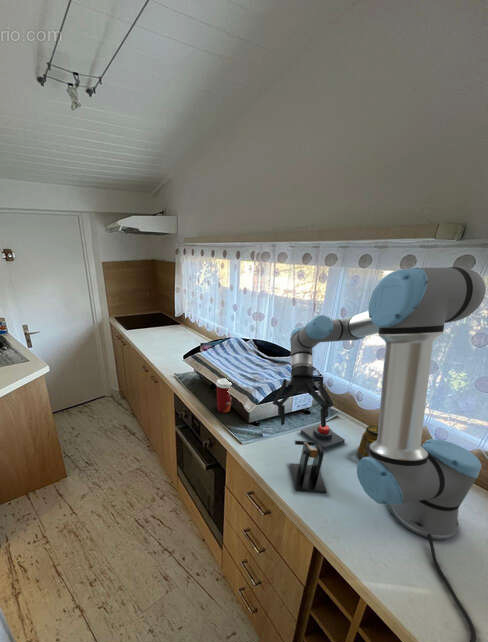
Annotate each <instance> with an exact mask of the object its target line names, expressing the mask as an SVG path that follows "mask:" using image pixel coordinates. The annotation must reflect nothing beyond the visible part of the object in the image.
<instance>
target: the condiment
mask: <svg viewBox="0 0 488 642" xmlns="http://www.w3.org/2000/svg"><path fill="white" fill-rule="evenodd" d="M378 427H379V426H378V425H377V426H376V425H368V426H367V427H366V428H365V431H364V432H363V433H362V436H361V439H360V442H359V446H358V448H357V450H356V451H355V454H356V455H357V457H358V459H359V461H360V460H361V459H362V458H364V457H369V449H370V444H371V443H373V442H374V441H376V440H377V438H378Z"/></svg>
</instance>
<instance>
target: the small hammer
mask: <svg viewBox="0 0 488 642" xmlns="http://www.w3.org/2000/svg"><path fill="white" fill-rule="evenodd" d="M304 443H307V445H308V448H309V451H310V454H309V459H310V458H312V459H314V458H317V456H318V450H317V449H316V447H314V446H315V443H314V441H310V440H296V439H295V440H294V445H296V446H303V444H304Z"/></svg>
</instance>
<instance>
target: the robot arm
mask: <svg viewBox="0 0 488 642" xmlns="http://www.w3.org/2000/svg"><path fill="white" fill-rule="evenodd" d="M486 289H487V287H486V283H485V280H484V279H483V277H482V276H481V275H480V274H479V273H478V272H477V271H475V270H473V269H471V268H469V267H463V266H449V267H447V266H445V267H413V268H412V267H410V268H405V269H398V270H394V271H391V272H389V273H387V274H386V275H385V276H384V277H383V278H381V279H380V281H379V283H377V284H376V285H375V287H374V288H373V290H372V292H371V294H370V297H369V300H368V303H367V304H368V305H367V311H363V312H362V313H359V314H356V315H353V316H351V317H346V318H334V319H332V318H331V317H329V316H327V315H325V314H317V315H315V316H313V318H311V319H310V320H309V321H307V323H306V324H305V325H304V326H298V327H296V328H293V329H292V330H291V332H290V340H289V342H290V380H288V379H287V378H283V380H282V382H281V387H280V389H279V390H278V392H277V394H276V396H275V398H274V400H273V402H272V405H274V406H276V407H277V415H278V416H280V425H281V426H284V425H285V424H286V417H285V416H286V415H285V412H286V411H285V410H286V407H285V406H286V405H285V403H286V402H287V400H289V398H290V397H291V396H292V395H293V394H294V393H296V394H309V396H311V397H312V398H313V399H314V400H315V401H316V403H317V404H318V405H319V406H320V407H321V408H320V424H321V427H325V426H326V425H327V421H326V420H327V418H328V417H329V409H330V408H332V407H333V406H334V405H335V404H334V402H333V400H332V399H331V397H330V395H329V393H328V391H327V389H326V388H325V387H324V381H323V380H319V381H315V380H314V368H313V367H314V360H313V348H314V347H316V346H317V345H319V344H320V343H331V342H342V341H345V342H346V341H359V340H363V339H365V338H366V337H368V336H373V335H377V334H378V337H380V338H381V339H382V340H383V341H384V342H385V346H384V347H385V348H384V355H383V357H384V358H383V369H382V381H381V393H380V404H379V416H378V426H377V427H378V438H377V440H376V441H374V442H373V443H371V444H370V449H369V457H364V458H362V459H361V460H360V459H359V460H358V462H357V465H356V475H357V478H358V482H359V484H360V486H361V487H362V489H363V491H364V492H365V494H367V496H368V497H369V498H370V499H372V501H374V502H375V503H378V504H379V505H383V506H388V507H389V511H390V513H391V515H392V516H393V518H394V519H395V520H396V521H397V522H398V523H399V524H400V525H402V526H403V527H404V528H405V529H407V530H408V531H410V532H411V533H414V534H415V535H418V536H420V537H424V538H425V539H426V538H427V539H428V543H429V547H430V553H431V558H432V561H433V563H434V566H435V568H436V570H437V573H438V574H439V576H440V577H441V579H442V581H443V583H444V585H445V586H446V588H447V589H448V591H449V594H450V595H451V597H452V599H453V600H454V602H455V603H456V605H457V607H458V609H459V610H460V612H461V613H462V615H463V617H464V618H465V620H466V622H467V624H468V626H469V627H468V628H469V630H470V640H469V642H477V633H476V629H475V626H474V623H473V621H472V619H471V618H470V615H469V614H468V613H467V611H466V609H465V608H464V606H463V604H462V603H461V602H460V600H459V598H458V596H457V595H456V593H455V591H454V589H453V588H452V586H451V584H450V582H449V581H448V579H447V578H446V576H445V574H444V572H443V571H442V568H441V567H440V565H439V563H438V560H437V556H436V552H435V551H436V550H435V546H434V542H433V541H445V540H449V539H451V538H453V537H454V536H455V534H456V532H457V531H458V528H459V519H458V517H459V508H460V507H461V505H462V503H463V501H464V500H465V499H466V496H467V495H468V493H469V491H471V488H472V487H473V485H474V483H475V481H476V480H477V479H478V478H479V474H480V471H481V469H482V463H481V461H480V459H479V458H478V457H477V456H476V455H475V454H474V453H472V451H470V450H468V449H466V448H465V447H462V446H460V445H458V444H455V443H453V442H451V441H447V440H443V439H438V438H430V439H427V440H425V442H424V443H422V437H423V430H424V422H425V421H424V420H425V412H426V404H427V403H426V402H427V395H428V387H429V379H430V369H431V362H432V355H433V354H432V353H433V345H434V342H435V340H436V339H438V338H439V337H440V336H441V335H443V334H444V330H445V324H446V323H447V324H448V323H454V322H458V321H461V320H463V319H465V318H467V317H469V316H471V315H472V314H474V312H476V310H478V309H479V307H480V306H481V305H482V303H483V301H484V300H485V296H486V291H487V290H486ZM288 386H290V387H291V389H290V390H289V391H288V393H286V394H285V396H283V398H282V399H281V400H279V399H280V398H281V396H282V394H283V392H284V391H285V389H286V388H287V387H288ZM314 387H316V389H317V390H318V392H319V393H320V394H319V393H318V392H317V391H316V389H315V388H314Z"/></svg>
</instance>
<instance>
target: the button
mask: <svg viewBox="0 0 488 642" xmlns="http://www.w3.org/2000/svg"><path fill="white" fill-rule="evenodd" d="M329 428H330V426H329V425H328V424H326V426H325V427H321V425H319V429H318V432H320V433H323V434H328V432H329Z"/></svg>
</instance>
